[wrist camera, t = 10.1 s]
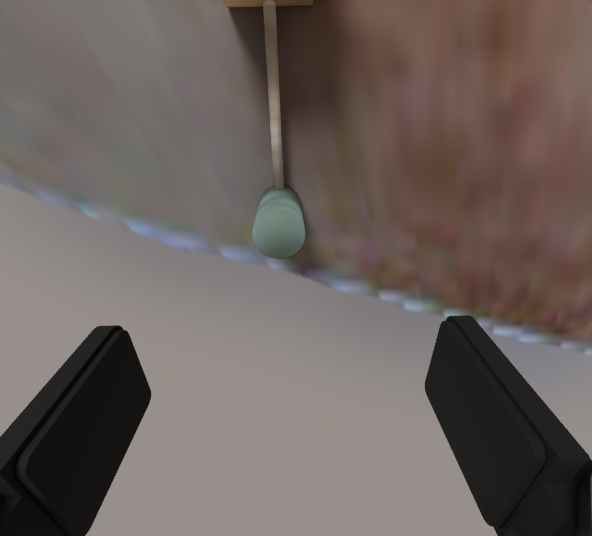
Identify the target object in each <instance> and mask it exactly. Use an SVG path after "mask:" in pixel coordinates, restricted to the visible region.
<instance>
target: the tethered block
mask: <svg viewBox="0 0 592 536" xmlns="http://www.w3.org/2000/svg"><path fill="white" fill-rule="evenodd" d="M223 1H224V3H225V4H226V6H227V7H262V6H263V13H264V29H265V46H266V62H267V79H268V95H269V112H270V128H271V145H272V161H273V178H274V186H272V187H270V188H268V189H267V190H266V191H265V192H264V193H263V195H262V197H261V199H260V203H259V207H258V211H257V215H256V219H255V223H254V227H253V232H252V235H253V240H254V243H255V245H256V247H257V248H258V249H259V250H260V251H261V252H262V253H263V254H265V255H266V256H269V257H272V258H277V259H281V258H287V257H290V256H292V255H294V254H295V253H297V252H298V251H299V250H300V249H301V247H302V245H303V243H304V241H305V227H304V220H303V214H302V208H301V202H300V198H299V196H298V194H297V193H296V192H295V191H294V190H293V189H292V188H290V187H288V186H285V185H284V181H283V159H282V136H281V114H280V92H279V70H278V48H277V26H276V6H303V5H313V1H314V0H223Z"/></svg>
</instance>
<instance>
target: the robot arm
mask: <svg viewBox="0 0 592 536" xmlns="http://www.w3.org/2000/svg"><path fill="white" fill-rule="evenodd" d="M425 391H426V394H427V397H428V399H429V401H430V403H431V405H432V407H433V410H434V412H435V414H436V416H437V418H438V421H439V423H440V425H441V427H442V429H443V432H444V434H445V436H446V438H447V440H448V442H449V445H450V447H451V449H452V451H453V453H454V455H455V458H456V460H457V462H458V464H459V466H460V469H461V471H462V473H463V475H464V477H465V479H466V482H467V484H468V486H469V488H470V490H471V492H472V495H473V497H474V499H475V501H476V503H477V505H478V508H479V510H480V512H481V514H482V516H483V518H484V520H485V521H486V523H487V524H488V525H489V526H493V527H494V529H495V531H496V533H497V535H498V536H592V460H591V459H590V458H589V455H588V454H587V453H586V452H585V451H584V449H583V448H582V447H581V446H580V445H579V443H578V442H577V441H576V440H575V439H574V438H573V436H572V435H571V434H570V433H569V431H568V430H567V429H566V428H565V427H564V425H563V424H562V423H561V422H560V421H559V420H558V418H557V417H556V416H555V415H554V414H553V412H552V411H551V410H550V409H549V408H548V406H547V405H546V404H545V403H544V402H543V400H542V399H541V398H540V397H539V396H538V395H537V393H536V392H535V391H534V390H533V388H532V387H531V386H530V385H529V384H528V383H527V381H526V380H525V379H524V378H523V377H522V375H521V374H520V373H519V372H518V371H517V369H516V368H515V367H514V366H513V365H512V363H511V362H510V361H509V360H508V359H507V357H506V356H505V355H504V354H503V353H502V352H501V350H500V349H499V348H498V347H497V346H496V344H495V343H494V342H493V341H492V340H491V338H490V337H489V336H488V335H487V334H486V332H485V331H484V330H483V329H482V328H481V326H480V325H479V324H478V323H477V322H476V321H475V319H474V318H473V317H472V316H449V317H448V318H447V319H446V321H443V322H442V323H441V325H440V328H439V332H438V336H437V340H436V343H435V347H434V351H433V355H432V359H431V362H430V366H429V370H428V373H427V377H426V381H425ZM150 399H151V390H150V387H149V385H148V382H147V379H146V377H145V375H144V372H143V369H142V367H141V364H140V361H139V359H138V356H137V354H136V351H135V348H134V346H133V343H132V341H131V338H130V336H129V333H128V332H127V331H126V330H123V328H122V327H121V326H98V327H96V328H95V329H94V330H93V331H92V332H91V333H90V334H89V335H88V337H87V338H86V339H85V340H84V341H83V342H82V344H81V345H80V346H79V347H78V348H77V349H76V350H75V352H74V353H73V354H72V355H71V356H70V357H69V358H68V360H67V361H66V362H65V363H64V364H63V365H62V367H61V368H60V369H59V370H58V371H57V372H56V374H55V375H54V376H53V377H52V378H51V379H50V380H49V381H48V383H47V384H46V385H45V386H44V387H43V388H42V390H41V391H40V392H39V393H38V394H37V395H36V397H35V398H34V399H33V400H32V401H31V402H30V403H29V405H28V406H27V407H26V408H25V409H24V410H23V412H22V413H21V414H20V415H19V416H18V417H17V419H16V420H15V421H14V422H13V423H12V424H11V425H10V426H9V428H8V429H7V430H6V431H5V432H4V434H3V435H2V436H1V437H0V536H85V535H86V534H87V532H88V531H89V529H90V528H91V526H92V524H93V522H94V519H95V517H96V515H97V513H98V511H99V509H100V507H101V505H102V502H103V500H104V498H105V496H106V494H107V492H108V490H109V488H110V486H111V483H112V481H113V479H114V477H115V475H116V473H117V471H118V469H119V466H120V464H121V462H122V460H123V458H124V455H125V453H126V452H127V449H128V447H129V445H130V443H131V441H132V439H133V437H134V435H135V433H136V430H137V428H138V426H139V424H140V422H141V420H142V418H143V416H144V413H145V411H146V409H147V407H148V405H149V403H150Z"/></svg>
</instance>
